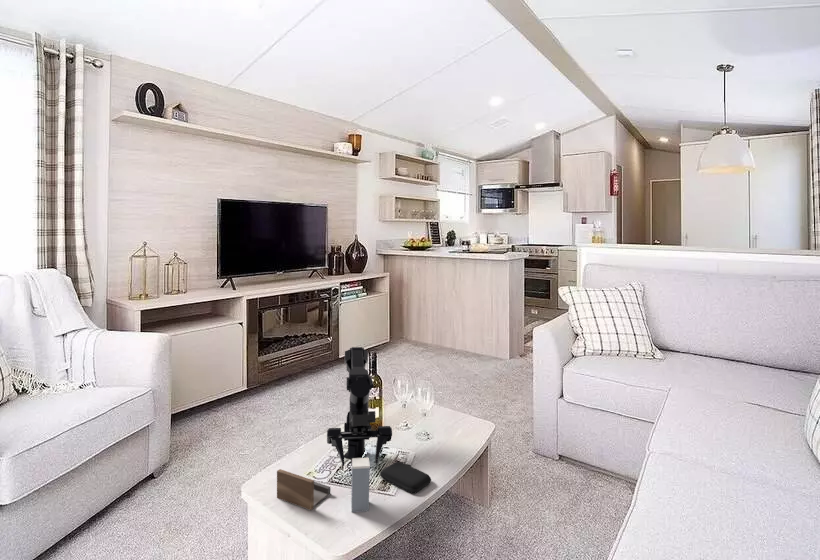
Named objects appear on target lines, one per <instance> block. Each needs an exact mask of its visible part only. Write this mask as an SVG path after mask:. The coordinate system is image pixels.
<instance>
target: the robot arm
mask: <svg viewBox="0 0 820 560" xmlns="http://www.w3.org/2000/svg"><path fill="white" fill-rule="evenodd" d="M368 355H369V352H368V350H366V349H365V348H364V347H362V346H360V347H359V346H357V347H354V346H352V347H350V348H349V349H348V350H346V351H344V364H345V365H346V367H345V368H346V372H348V376H347V377H346V384H345V385H346V388H345V389H346V391H348V392H349V411H348V412H347V415H346V420H345V421H346V422H343V423H344V424H343V425H344V427H343V431H342V428H341V427H329V428H327V429H326V430H327V431H326V443H327V444H328V445H331V447H333V448H335V450H336V451H337V454H338V456H339V458H340V461H341V464H342V467H345V458H347V459H351V460H352V458H362V455H363V454H364V452H365V450H366V448H365V447H366V440H367V441H369V440H370V439H371V438H376V447H375V456H374V457H375V459H374V460H375V462H374V463H375V465H376V466H377V465H378V462H379V457H380V454H381V450H382V448H383V446H384V445H387V442H390V441H391V440H392V437H393V428H392V427H391V425H382V426H381V425H380V426H378V427H377V429H376V430H372V425H371V424H372V423H376V410H370V411H369V399H370V393H371V391H372V388H373V389H374V381H373V380H372V377H371V376H369V374H370V373H369V370H367V369H366V366H367V364H368V363H369V362H368V360H369V358H368V357H369V356H368ZM343 441H347V451H346V452H345V453H344V446H343Z"/></svg>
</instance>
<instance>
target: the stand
mask: <svg viewBox="0 0 820 560" xmlns="http://www.w3.org/2000/svg"><path fill="white" fill-rule="evenodd" d="M330 494H331V486H329V485H327V484H322V483H321V482H317V481H315V480H313V479H311V478H307V477H305V476H302V475H299V474H296V473H294V472H290V471H286V470H284V469H281V468H279V469H278V470H276V498H277V499H280V500H283V501H285V502H288V503H290V504H293V505H294V506H295V505H296V506H299V507H302V508H304V509H306V510H309V511H312V510H313V509H314V508H315V507H316V506H318V505H319V504H320V503H321V502H323V500H325V499H326V498H327V497H328V496H330Z"/></svg>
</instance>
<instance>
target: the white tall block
mask: <svg viewBox="0 0 820 560" xmlns="http://www.w3.org/2000/svg"><path fill="white" fill-rule="evenodd" d="M370 466H371V465H370V459H369V457H368V456H367V457H364V458H352V459H351V496H350V497H351V498H350V499H351V500H350V502H351V503H350V504H351V513H357V512H359V513H360V512H369V510H370V505H369V504H370V474H371V473H370V469H371V468H370Z"/></svg>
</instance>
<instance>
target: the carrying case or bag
mask: <svg viewBox="0 0 820 560" xmlns="http://www.w3.org/2000/svg"><path fill="white" fill-rule="evenodd" d="M379 473H380V474H379V475H380V477H381V478H382V479H383V480H384V481H385V482H388V483H389V484H392V485H394V486H395V487H398V488H399V489H402V490H403V491H406V492H408V493H410V494H416V493H418V492H419V491H421V490H422V489H424V488H425V487H427V486H428V485H429V484H430V483H432V478H431V476H430V475H429V474H427V473H426V472H424V471H421V470H420V469H417V468H415V467H412V465H411V464H408V463H407V464H406V463H405V462H404V463H403V462H401V461H395V462H393V463H392V464H390V465H389V466H387V467H385V468H383V469H382V470H380V472H379Z"/></svg>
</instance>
